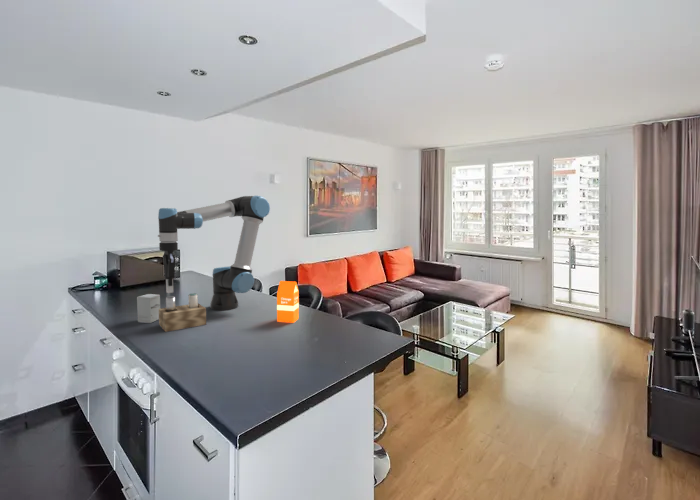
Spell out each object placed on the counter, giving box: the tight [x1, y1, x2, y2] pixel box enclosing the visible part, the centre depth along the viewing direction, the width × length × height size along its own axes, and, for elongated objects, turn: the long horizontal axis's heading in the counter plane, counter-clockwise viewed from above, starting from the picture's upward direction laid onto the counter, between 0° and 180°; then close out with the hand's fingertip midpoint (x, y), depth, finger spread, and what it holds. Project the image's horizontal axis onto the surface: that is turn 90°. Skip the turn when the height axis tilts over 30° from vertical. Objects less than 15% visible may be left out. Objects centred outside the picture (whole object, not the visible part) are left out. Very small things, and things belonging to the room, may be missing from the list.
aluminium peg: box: [165, 295, 177, 312], centre depth 170 cm, size 4×4×8 cm
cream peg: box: [188, 292, 199, 309], centre depth 177 cm, size 4×4×8 cm
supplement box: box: [136, 293, 161, 324], centre depth 180 cm, size 7×7×13 cm
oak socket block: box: [158, 303, 207, 333], centre depth 174 cm, size 18×12×8 cm, turn 129°
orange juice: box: [276, 280, 300, 324], centre depth 184 cm, size 8×9×20 cm
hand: (169, 292), depth 169 cm, fingers closed
